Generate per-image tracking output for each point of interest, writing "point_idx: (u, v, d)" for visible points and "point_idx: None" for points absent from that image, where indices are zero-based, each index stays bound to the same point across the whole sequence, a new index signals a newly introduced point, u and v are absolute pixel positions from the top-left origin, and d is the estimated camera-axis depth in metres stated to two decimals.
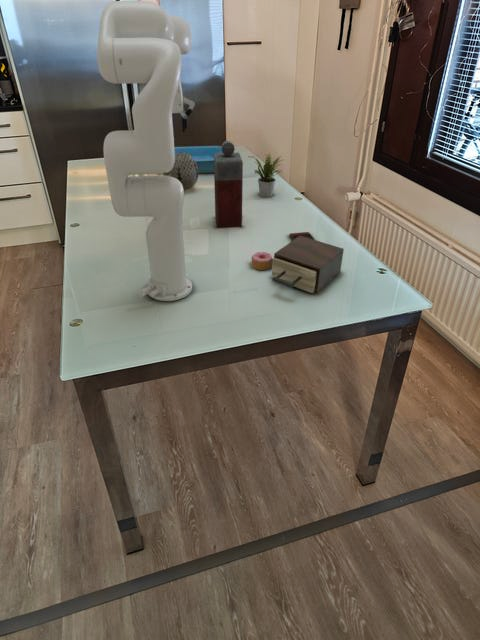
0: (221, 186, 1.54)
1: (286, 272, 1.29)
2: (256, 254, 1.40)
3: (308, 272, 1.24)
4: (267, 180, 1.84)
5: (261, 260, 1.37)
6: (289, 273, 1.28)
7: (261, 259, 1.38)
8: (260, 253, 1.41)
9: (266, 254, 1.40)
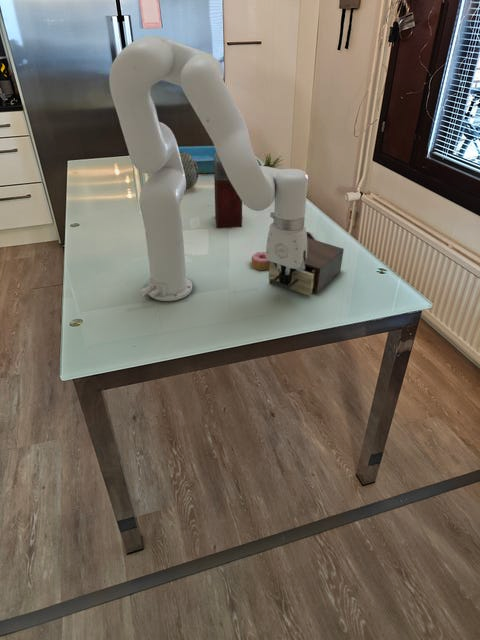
0: (221, 186, 1.54)
1: None
2: (256, 254, 1.40)
3: (305, 274, 1.23)
4: None
5: (261, 260, 1.37)
6: None
7: (261, 259, 1.38)
8: (260, 253, 1.41)
9: None
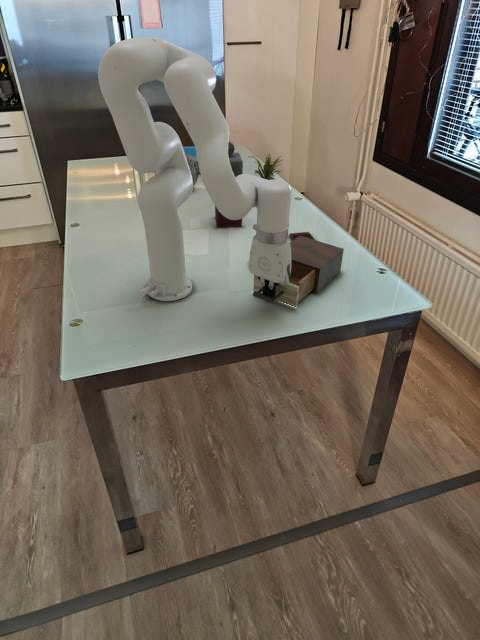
0: None
1: None
2: None
3: (290, 286, 1.18)
4: None
5: None
6: None
7: None
8: None
9: None
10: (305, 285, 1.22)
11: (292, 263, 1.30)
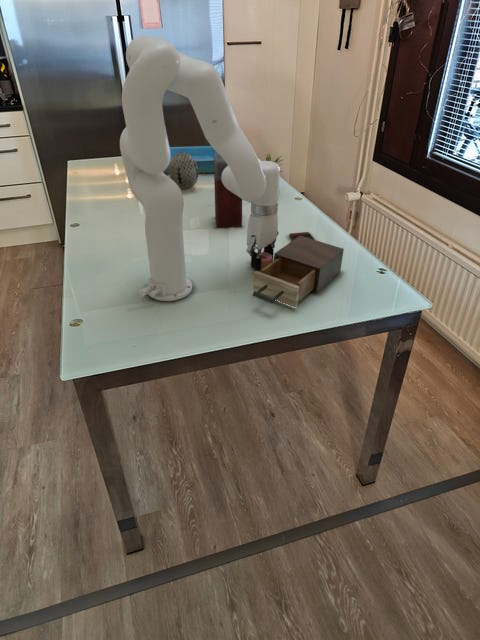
0: (221, 186, 1.54)
1: (268, 286, 1.23)
2: None
3: (290, 287, 1.18)
4: None
5: (261, 260, 1.37)
6: (271, 287, 1.22)
7: (261, 259, 1.38)
8: None
9: (266, 254, 1.40)
10: (305, 285, 1.22)
11: (292, 263, 1.30)
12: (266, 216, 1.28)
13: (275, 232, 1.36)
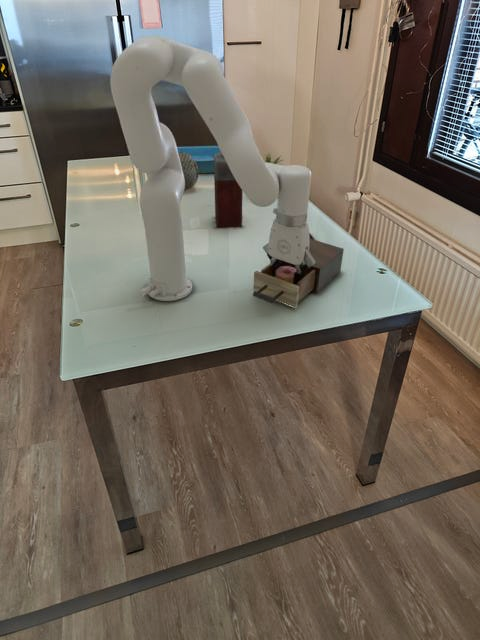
0: (221, 186, 1.54)
1: (268, 286, 1.23)
2: (283, 274, 1.23)
3: (290, 287, 1.18)
4: None
5: None
6: (271, 287, 1.22)
7: (294, 272, 1.24)
8: (280, 272, 1.24)
9: (282, 269, 1.26)
10: (305, 285, 1.22)
11: None
12: None
13: None
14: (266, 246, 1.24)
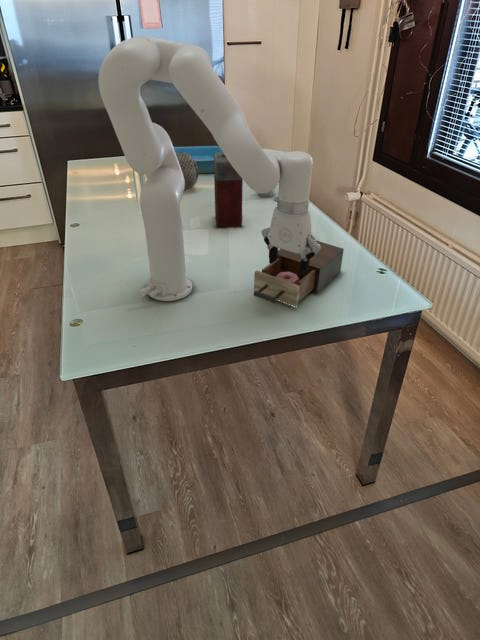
0: (221, 186, 1.54)
1: (269, 286, 1.23)
2: None
3: (291, 286, 1.18)
4: None
5: (296, 278, 1.25)
6: (272, 286, 1.22)
7: (294, 277, 1.25)
8: (280, 278, 1.25)
9: (282, 274, 1.27)
10: (305, 285, 1.23)
11: (292, 263, 1.31)
12: None
13: None
14: (265, 231, 1.22)
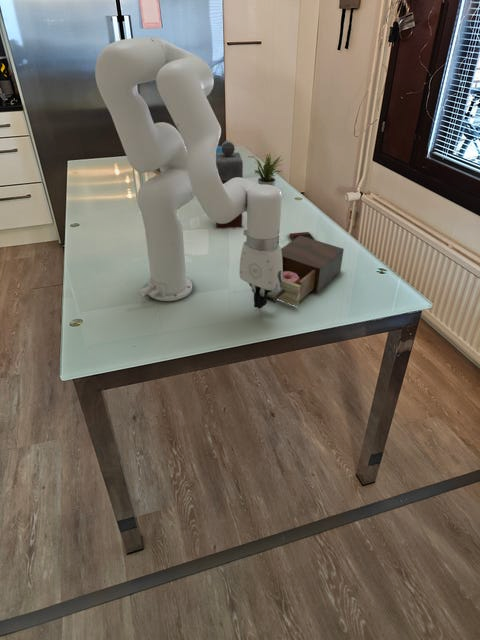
0: None
1: None
2: None
3: (292, 286, 1.18)
4: (267, 180, 1.84)
5: (296, 277, 1.26)
6: None
7: (294, 277, 1.26)
8: None
9: None
10: (306, 284, 1.23)
11: (293, 262, 1.31)
12: None
13: None
14: None
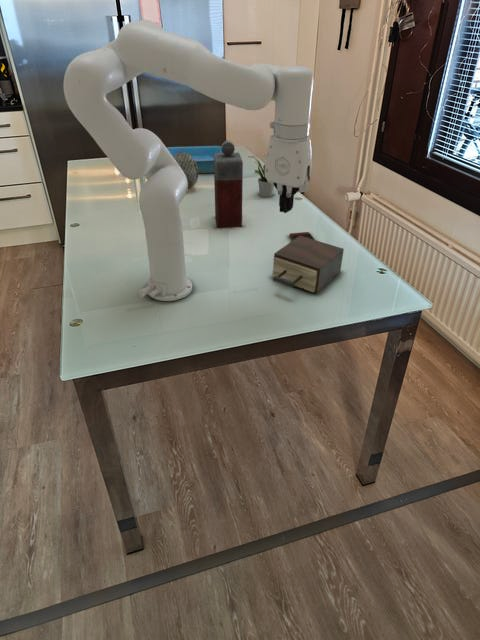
0: (221, 186, 1.54)
1: (287, 271, 1.29)
2: None
3: (309, 271, 1.25)
4: None
5: None
6: (290, 272, 1.28)
7: None
8: None
9: None
10: None
11: None
12: None
13: None
14: None
